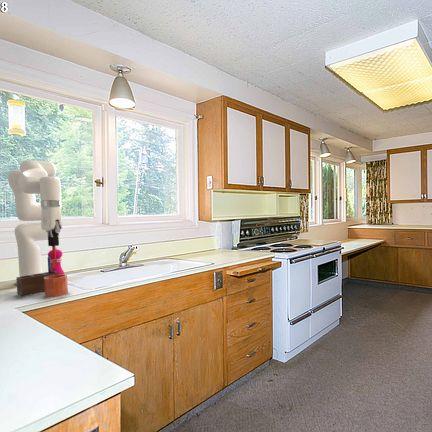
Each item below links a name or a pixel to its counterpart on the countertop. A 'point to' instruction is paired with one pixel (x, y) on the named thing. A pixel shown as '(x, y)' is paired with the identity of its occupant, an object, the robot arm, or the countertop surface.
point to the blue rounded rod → (49, 265)
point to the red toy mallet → (54, 258)
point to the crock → (55, 285)
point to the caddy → (32, 283)
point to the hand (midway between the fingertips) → (53, 245)
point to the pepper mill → (58, 257)
